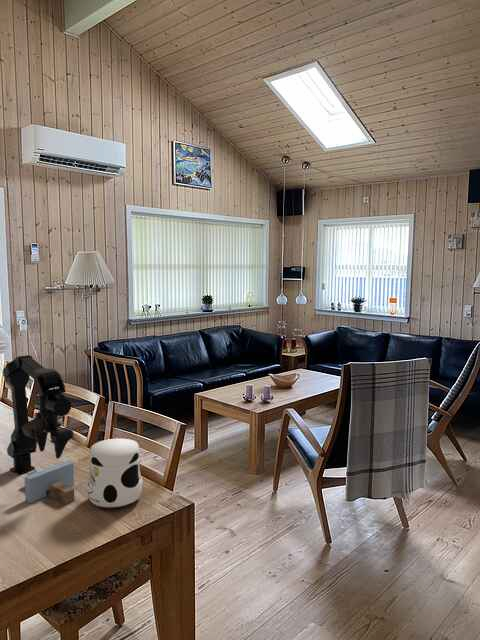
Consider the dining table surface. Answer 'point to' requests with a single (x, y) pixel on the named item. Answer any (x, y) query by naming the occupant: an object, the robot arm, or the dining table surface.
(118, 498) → the milk container
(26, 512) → the dining table surface
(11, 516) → the dining table surface
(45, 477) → the blue long flat plate
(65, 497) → the brown wooden bar
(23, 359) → the robot arm
